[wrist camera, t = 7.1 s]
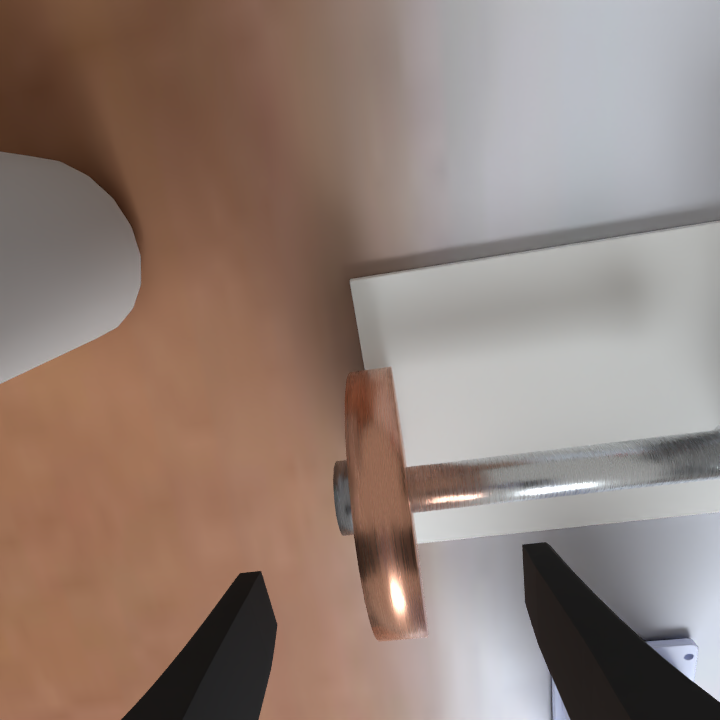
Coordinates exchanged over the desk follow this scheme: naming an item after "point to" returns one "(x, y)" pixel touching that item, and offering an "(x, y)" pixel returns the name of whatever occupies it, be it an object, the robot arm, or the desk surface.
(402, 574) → the bolt with copper washer
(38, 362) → the can
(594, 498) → the base board
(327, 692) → the desk surface
